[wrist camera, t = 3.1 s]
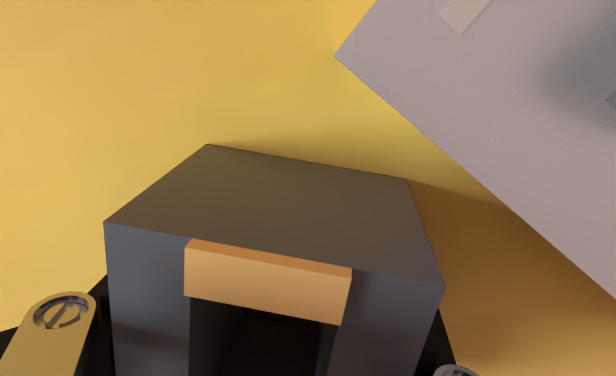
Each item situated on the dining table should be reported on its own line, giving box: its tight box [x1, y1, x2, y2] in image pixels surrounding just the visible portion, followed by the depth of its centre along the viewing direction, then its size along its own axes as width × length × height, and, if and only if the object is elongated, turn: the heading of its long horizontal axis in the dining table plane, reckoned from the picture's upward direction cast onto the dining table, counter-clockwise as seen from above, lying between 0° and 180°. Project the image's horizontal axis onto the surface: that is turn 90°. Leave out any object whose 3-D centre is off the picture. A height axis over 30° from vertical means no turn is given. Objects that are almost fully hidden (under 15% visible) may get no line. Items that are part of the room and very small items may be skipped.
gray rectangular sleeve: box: [103, 144, 446, 376], centre depth 10 cm, size 7×6×5 cm
